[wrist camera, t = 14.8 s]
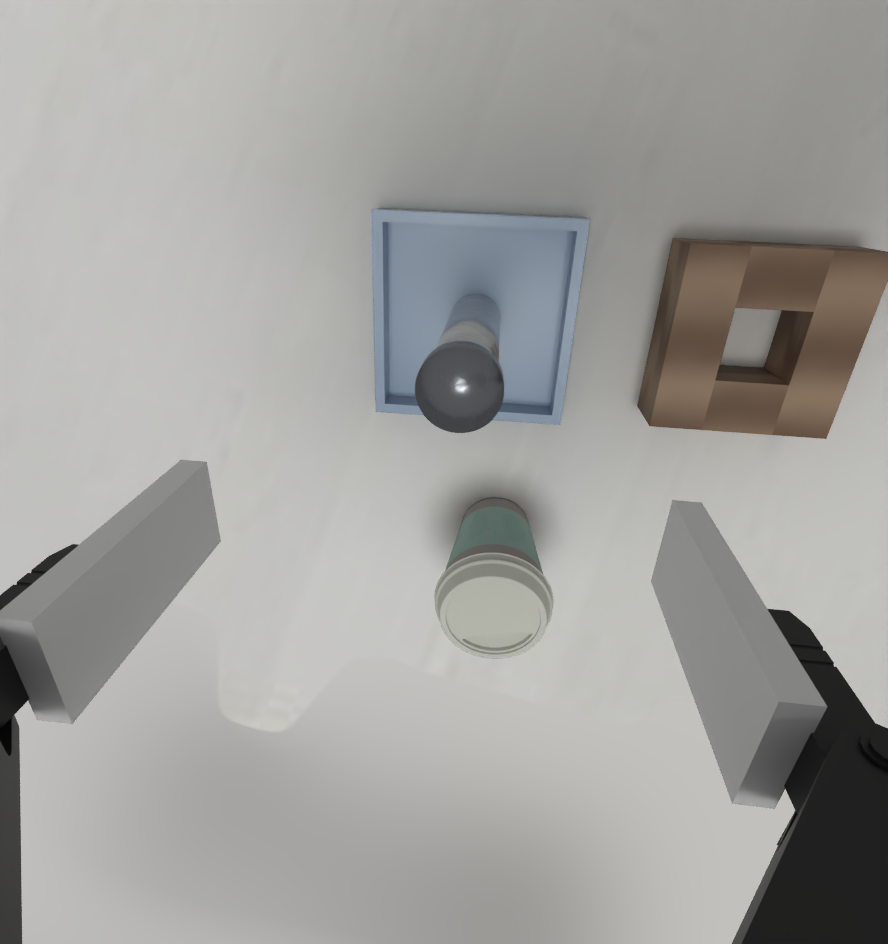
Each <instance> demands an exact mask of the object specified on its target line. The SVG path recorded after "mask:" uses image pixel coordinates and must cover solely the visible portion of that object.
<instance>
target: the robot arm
mask: <svg viewBox="0 0 888 944" xmlns="http://www.w3.org/2000/svg"><path fill="white" fill-rule="evenodd" d="M220 541H221V540H220V534H219V529H218V523H217V517H216V512H215V506H214V501H213V495H212V489H211V484H210V478H209V473H208V467H207V462H201V461H189V460H180V461H179V462H178V463H177V464H176V465H174V466H173V467H172V468H171V469H170V470H168V471H167V472H166V473H165V474H164V475H162V476H161V477H160V478H159V479H158V480H156V481H155V482H154V483H153V484H152V485H150V486H149V487H148V488H147V489H146V490H144V491H143V492H142V493H141V494H140V495H138V496H137V497H136V498H135V499H134V500H132V501H131V502H130V503H129V504H128V505H126V506H125V507H124V508H123V509H122V510H120V511H119V512H118V513H117V514H116V515H114V516H113V517H112V518H111V519H110V520H108V521H107V522H106V523H105V524H104V525H102V526H101V527H100V528H99V529H98V530H96V531H95V532H94V533H93V534H92V535H90V536H89V537H88V538H87V539H86V540H84V541H83V542H82V543H81V544H80V545H75V544H72V545H70V546H68V547H66V548H64V549H62V550H60V551H58V552H56V553H54V554H52V555H50V556H49V557H47V558H46V559H45V560H44V561H43V562H41V563H40V564H39V565H37V566H36V567H35V568H34V569H32V572H31V573H27V574H26V575H25V576H24V577H22V578H21V579H20V580H19V581H18V582H17V585H13V586H11V587H10V588H9V589H8V590H6V591H5V592H4V593H3V594H1V595H0V944H22V913H21V912H22V909H21V908H22V907H21V835H20V834H21V833H20V832H21V830H20V760H19V759H20V757H19V756H20V755H19V725H18V723H17V720H16V718H15V716H14V714H15V713H16V712H17V711H18V710H19V709H20V708H21V707H22V706H23V705H24V704H25V702H27V701H29V703H30V705H31V707H32V710H33V712H34V714H35V716H36V718H37V720H42V721H50V722H59V723H67V724H73V723H74V721H75V720H76V719H77V717H78V716H79V715H80V714H81V713H82V712H83V710H84V709H85V708H86V706H87V705H88V704H89V703H90V702H91V700H92V699H93V698H94V696H95V695H96V694H97V693H98V692H99V691H100V689H101V688H102V687H103V686H104V684H105V683H106V682H107V681H108V679H109V678H110V677H111V676H112V675H113V673H114V672H115V671H116V669H117V668H118V667H119V666H120V664H121V663H122V662H123V661H124V660H125V658H126V657H127V656H128V654H130V652H131V651H132V650H133V649H134V647H135V646H136V645H137V644H138V642H139V641H140V640H141V639H142V637H143V636H144V635H145V634H146V633H147V631H148V630H149V629H150V628H151V626H152V625H153V624H154V623H155V622H156V620H157V619H158V618H159V617H160V615H161V614H162V613H163V612H164V610H165V609H166V608H167V607H168V606H169V604H170V603H171V602H172V601H173V599H174V598H175V597H176V596H177V594H178V593H179V592H180V591H181V590H182V588H183V587H184V586H185V585H186V583H187V582H188V581H189V580H190V578H191V577H192V576H193V575H194V574H195V572H196V571H197V570H198V569H199V567H200V566H201V565H202V564H203V562H204V561H205V560H206V559H207V557H208V556H209V555H210V554H211V553H212V551H213V550H214V549H215V548H216V546H217V545H218V544H219V543H220ZM651 582H652V585H653V588H654V590H655V593H656V596H657V599H658V601H659V604H660V607H661V610H662V612H663V615H664V618H665V621H666V623H667V626H668V629H669V631H670V634H671V637H672V640H673V642H674V645H675V648H676V651H677V653H678V656H679V659H680V662H681V664H682V667H683V670H684V673H685V675H686V678H687V681H688V683H689V686H690V689H691V692H692V694H693V697H694V700H695V703H696V705H697V708H698V710H699V714H700V716H701V719H702V722H703V725H704V727H705V730H706V733H707V735H708V738H709V741H710V744H711V746H712V749H713V752H714V754H715V757H716V760H717V763H718V766H719V768H720V771H721V774H722V776H723V779H724V782H725V785H726V787H727V790H728V793H729V795H730V798H731V801H732V803H733V804H740V805H749V806H756V807H764V808H773V809H774V808H775V807H776V805H777V803H778V801H779V799H780V798H781V796H782V794H783V792H784V790H785V789H786V791H787V793H788V795H789V797H790V799H791V801H792V804H793V806H794V808H795V812H794V814H793V816H792V818H791V820H790V821H789V824H788V825H787V827H786V829H785V831H784V832H783V834H782V837H781V838H780V840H779V842H778V843H777V845H778V847H777V849H776V851H775V853H774V856H773V858H772V860H771V862H770V864H769V866H768V868H767V870H766V872H765V875H764V877H763V879H762V881H761V883H760V885H759V887H758V889H757V891H756V894H755V896H754V898H753V900H752V902H751V904H750V906H749V909H748V911H747V913H746V915H745V917H744V919H743V921H742V923H741V925H740V928H739V930H738V932H737V934H736V936H735V938H734V940H733V943H732V944H888V728H885V727H883V726H881V725H878V724H876V723H875V722H874V721H873V720H872V718H871V717H870V715H869V714H868V712H867V711H866V709H865V708H864V706H863V705H862V703H861V702H860V701H859V699H858V698H857V696H856V695H855V693H854V692H853V690H852V689H851V687H850V686H849V685H848V683H847V682H846V680H845V679H844V677H843V676H842V674H841V673H840V671H839V670H838V669H837V667H834V665H833V664H834V663H833V661H832V660H831V658H830V657H829V655H828V654H827V653H826V651H823V647H822V645H821V644H820V642H819V641H818V639H817V638H816V637H815V635H814V634H813V632H812V631H811V629H810V628H809V627H808V626H806V625H805V624H804V623H803V622H802V621H800V620H799V619H798V618H797V617H796V616H794V615H793V614H792V613H791V612H790V611H784V610H773V609H767V608H766V606H765V605H764V603H763V601H762V600H761V598H760V597H759V595H758V593H757V592H756V590H755V588H754V587H753V585H752V584H751V582H750V580H749V579H748V577H747V575H746V574H745V572H744V571H743V569H742V567H741V566H740V564H739V563H738V561H737V559H736V558H735V556H734V554H733V553H732V551H731V550H730V548H729V546H728V545H727V543H726V541H725V540H724V538H723V537H722V535H721V533H720V532H719V530H718V528H717V527H716V525H715V524H714V522H713V520H712V519H711V517H710V516H709V514H708V512H707V511H706V509H705V507H704V506H703V504H702V503H700V502H688V501H675V500H672V504H671V508H670V512H669V516H668V519H667V523H666V527H665V531H664V534H663V538H662V542H661V546H660V550H659V553H658V557H657V561H656V565H655V568H654V572H653V576H652V580H651Z"/></svg>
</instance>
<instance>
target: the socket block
mask: <svg viewBox="0 0 888 944" xmlns="http://www.w3.org/2000/svg"><path fill="white" fill-rule="evenodd" d="M887 281H888V252H886V251H880V250H874V249H868V248H861V247H845V246H824V245H803V244H783V243H762V242H741V241H720V240H700V239H679V238H673V241H672V246H671V251H670V255H669V260H668V265H667V269H666V274H665V279H664V284H663V288H662V293H661V298H660V303H659V307H658V312H657V317H656V321H655V326H654V331H653V336H652V340H651V345H650V350H649V355H648V359H647V364H646V369H645V373H644V378H643V383H642V388H641V392H640V397H639V402H638V408H639V410H640V411H641V413H642V414H643V416H644V418H645V419H646V421H647V423H648V424H649V426H656V427H670V428H684V429H698V430H712V431H726V432H740V433H754V434H768V435H782V436H796V437H810V438H824V439H826V438H827V435H828V433H829V430H830V428H831V425H832V422H833V420H834V417H835V415H836V412H837V410H838V407H839V404H840V402H841V399H842V397H843V394H844V392H845V389H846V387H847V384H848V381H849V379H850V376H851V374H852V371H853V369H854V366H855V363H856V361H857V358H858V356H859V353H860V351H861V348H862V345H863V343H864V340H865V338H866V335H867V333H868V330H869V327H870V325H871V322H872V320H873V317H874V315H875V312H876V310H877V307H878V304H879V302H880V299H881V297H882V294H883V292H884V289H885V286H886V284H887ZM735 308H752V309H770V310H782V313H781V316H780V319H779V323H778V326H777V329H776V332H775V335H774V339H773V342H772V345H771V348H770V351H769V355H768V358H767V361H766V364H765V367H764V368H755V367H740V366H724V365H720V361H721V358H722V354H723V350H724V347H725V343H726V340H727V336H728V332H729V329H730V325H731V321H732V318H733V314H734V310H735Z"/></svg>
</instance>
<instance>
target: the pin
mask: <svg viewBox="0 0 888 944" xmlns="http://www.w3.org/2000/svg"><path fill="white" fill-rule="evenodd" d="M499 343H500V312H499V309H498V307H497V305H496V304H495V302H494V301H493V300H492V299H490V298H489V297H487V296H485V295H482V294H469V295H466V296H464V297H463V298H461V299H460V300H459V301H458V302H457V303H456V304H455V306H454V308H453V310H452V312H451V315H450V317H449V319H448V321H447V324H446V326H445V328H444V331H443V333H442V335H441V338H440V340H439V342H438V345H437V347H436V349H434V350H433V351H432V352H431V353H430V354H429V355H428V356H427V357H426V359H425V360H424V362H423V364H422V366H421V368H420V370H419V372H418V375H417V377H416V382H415V396H416V401H417V404H418V406H419V408H420V410H421V412H422V413H423V415H424V416H425V417H426V418H427V419H428V420H429V421H430V422H431V423H433V424H434V425H435V426H437V427H439V428H441V429H443V430H446V431H450V432H455V433H465V432H471V431H475V430H477V429H480V428H482V427H484V426H485V425H487V424H488V423H489V422H490V421H491V420H493V418H494V417H495V416H496V415H497V413H498V412H499V410H500V408H501V405H502V402H503V398H504V375H503V371H502V368H501V366H500V364H499Z"/></svg>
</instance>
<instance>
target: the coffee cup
mask: <svg viewBox="0 0 888 944" xmlns="http://www.w3.org/2000/svg"><path fill="white" fill-rule="evenodd" d="M435 608H436V613H437V616H438V619H439V621H440V623H441V626H442V629H443V631H444V633H445V634H446V636H447V637H448V638H449V640H450V641H451V642H452V643H453V644H455V645H456V646H457V647H459V648H460V649H462V650H463V651H465V652H467V653H470V654H472V655H475V656H479V657H483V658H492V659H501V658H508V657H513V656H516V655H519V654H521V653H524V652H526V651H527V650H529V649H530V648H532V647H533V646H534V645H535V644H536V643H537V642H538V641H539V640H540V639H541V637H542V636H543V634H544V632H545V629H546V627H547V625H548V623H549V621H550V619H551V615H552V609H553V593H552V590H551V587H550V585H549V583H548V581H547V579H546V578H545V576H544V575H543V572H542V569H541V565H540V562H539V558H538V555H537V551H536V548H535V544H534V541H533V537H532V534H531V530H530V527H529V524H528V520H527V517H526V515H525V513H524V512H523V510H522V509H521V508H520V507H519V506H517V505H516V504H515V503H513V502H511V501H509V500H506V499H501V498H488V499H484V500H481V501H479V502H477V503H475V504H474V505H472V506H471V507H470V508H469V509H468V511H467V512H466V514H465V516H464V518H463V521H462V524H461V527H460V529H459V532H458V535H457V538H456V541H455V544H454V547H453V550H452V553H451V556H450V559H449V562H448V564H447V567H446V570H445V572H444V573H443V574H442V576H441V577H440V579H439V581H438V583H437V586H436V589H435Z"/></svg>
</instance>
